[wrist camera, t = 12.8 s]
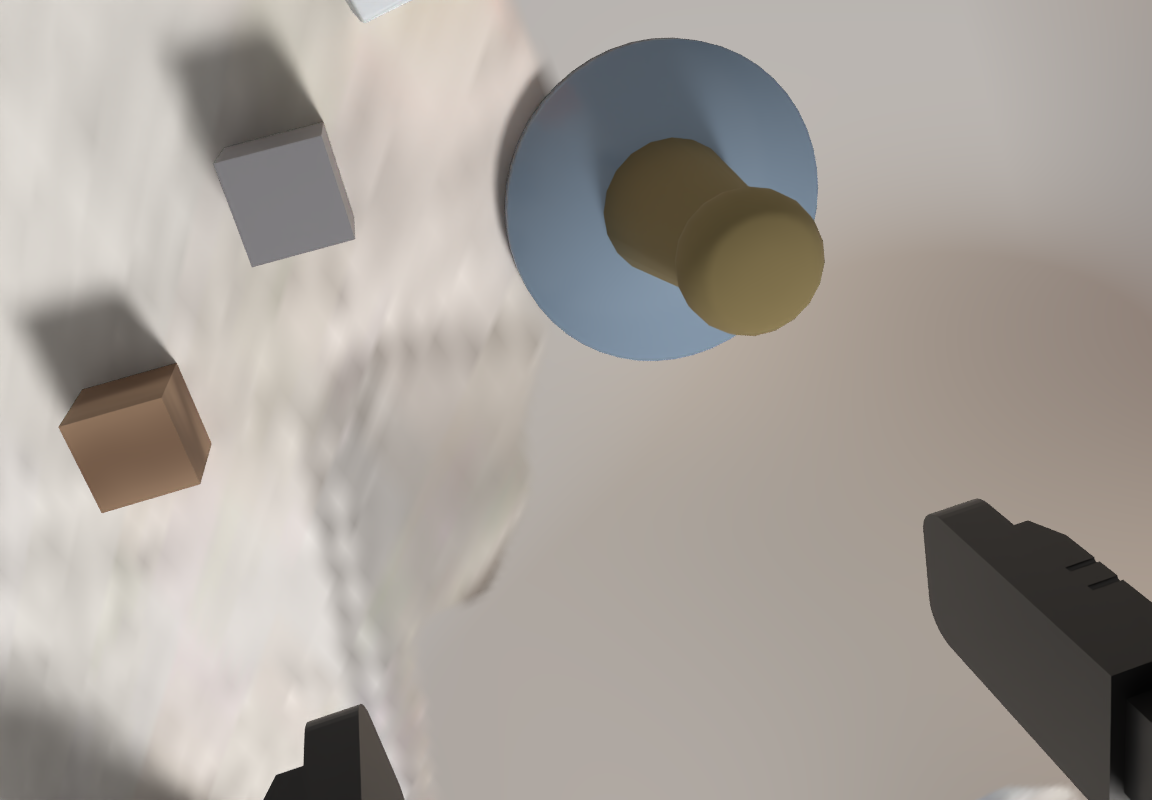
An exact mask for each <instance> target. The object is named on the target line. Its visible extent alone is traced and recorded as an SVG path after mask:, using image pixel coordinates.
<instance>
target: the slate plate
mask: <svg viewBox="0 0 1152 800" xmlns="http://www.w3.org/2000/svg"><path fill="white" fill-rule="evenodd" d="M671 137H673V138H683V139H692V140H695V141H697V142H699V143H701V144H703V145H705V146H707V147H709V148H711V149H712V150H713V151H714V152H715V153H716V154H717V155H718V156H719V157H720V158H721V159H722V160H723V161H724V162H725V163H726V164H727V165H728V166H729V167H730V168H731V169H732V170H733V171H734V172H735V173H736V174H737V175H738V176H739V177H740V178H741V179H742V180H743V181H744V182H745V183H746V184H747V185H748V186H749V187H759V188H770V189H773V190H775V191H777V192H779V193H781V194H783V195H785V196H787V197H790V198H792V199H794V200H796V201H797V202H798V203H799V204H800V205H801V206H802V207H803V208H804V209H805V210H806V211H807V212H808V214H809V215H810V216H811V217H812V219H813V220H814V219H815V214H816V208H817V194H818V184H817V183H818V181H817V167H816V161H815V156H814V150H813V146H812V143H811V140H810V137H809V134H808V131H807V128H806V126H805V124H804V122H803V119H802V118H801V115H800V113H799V111H798V109H797V108H796V106H795V105H794V103H793V102H792V100H791V99H790V97H789V96H788V94H787V93H786V92H785V91H784V90H783V89H782V87H781V86H780V85H779V84H778V83H777V82H776V81H775V80H774V78H772V77H771V76H770V75H769V74H768V73H766V72H765V71H764V70H763V69H762V68H760V67H759V66H758V65H757V64H755V63H753V62H752V61H750V60H748V59H747V58H745V57H743V56H742V55H740V54H738V53H735V52H733V51H731V50H728V49H726V48H724V47H721V46H718V45H714V44H709V43H706V42H702V41H697V40H689V39H679V38H655V39H647V40H641V41H636V42H631V43H628V44H625V45H622V46H619V47H616V48H613V49H610V50H608V51H606V52H604V53H602V54H600V55H598V56H596V57H594V58H592V59H590V60H588V61H587V62H585V63H584V64H582V65H581V66H579V67H578V68H576V69H575V70H573V71H572V72H571V73H570V74H569V75H567V77H565V78H564V79H563V80H562V81H561V82H559V83H558V84H557V85H556V86H555V87H554V88H553V89H552V90H551V92H550V93H549V94H548V95H547V96H546V97H545V99H544V100H543V101H542V102H541V103H540V105H539V106H538V108H537V109H536V111H535V112H534V114H533V115H532V117H531V118H530V120H529V121H528V123H527V125H526V127H525V129H524V131H523V133H522V135H521V137H520V139H519V141H518V143H517V146H516V149H515V152H514V155H513V158H512V161H511V164H510V169H509V173H508V178H507V183H506V194H505V223H506V231H507V237H508V242H509V247H510V250H511V253H512V256H513V259H514V262H515V265H516V268H517V270H518V272H519V274H520V276H521V278H522V280H523V282H524V284H525V286H526V288H527V289H528V291H529V292H530V294H531V295H532V297H533V298H534V300H535V301H536V303H537V304H538V306H539V307H540V308H541V309H542V311H543V312H544V313H545V314H546V315H547V316H548V317H549V318H550V319H551V321H552V322H553V323H555V324H556V325H557V326H558V327H559V328H561V329H562V330H563V331H565V333H566V334H568V335H569V336H571V337H573V338H574V339H576V340H577V341H579V342H581V343H582V344H584V345H586V346H588V347H591V348H593V349H595V350H597V351H599V352H602V353H606V354H609V355H613V356H616V357H620V358H626V359H632V360H642V361H659V360H670V359H677V358H681V357H686V356H690V355H694V354H697V353H700V352H703V351H705V350H708V349H711V348H713V347H715V346H717V345H719V344H721V343H723V342H725V341H727V340H729V339H731V338H732V337H734V336H735V335H733V334H729V333H726V332H723V331H721V330H719V329H716V328H714V327H711V326H709V325H708V324H707V323H706V322H704V321H703V320H702V319H701V318H700V317H699V316H698V315H697V314H696V313H695V312H694V311H693V310H692V309H691V308H690V307H689V306H688V304H687V302H686V301H685V299H684V297H683V295H682V293H681V291H680V289H679V287H677V286H675V285H673V284H670V283H668V282H666V281H664V280H661V279H659V278H657V277H655V276H652V275H650V274H648V273H646V272H643V271H641V270H639V269H637V268H634V267H632V266H631V265H630V264H629V263H628V262H627V261H626V260H624V259H623V258H622V257H621V256H620V255H619V254H618V253H617V252H616V250H615V248H614V246H613V244H612V242H611V241H610V239H609V237H608V235H607V230H606V225H605V219H604V207H605V199H606V192H607V189H608V187H609V185H610V183H611V181H612V179H613V176H614V174H615V172H616V170H617V169H618V168H619V167H620V166H621V165H622V164H623V163H624V161H625V160H626V159H627V158H628V157H629V156H630V155H631V154H632V153H633V152H635V151H637V150H638V149H640V148H642V147H643V146H645V145H647V144H648V143H650V142H654V141H658V140H662V139H667V138H671Z"/></svg>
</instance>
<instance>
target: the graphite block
mask: <svg viewBox="0 0 1152 800" xmlns="http://www.w3.org/2000/svg"><path fill="white" fill-rule="evenodd" d="M213 165H214V167H215V170H216V173H217V175H218V178H219V181H220V183H221V186H222V189H223V191H224V194H225V197H226V199H227V202H228V205H229V207H230V210H231V213H232V215H233V218H234V220H235V223H236V226H237V228H238V231H239V234H240V236H241V239H242V242H243V244H244V247H245V250H246V252H247V255H248V258H249V260H250V263H251V266H252V267H255V266H258V265H262V264H266V263H269V262H273V261H277V260H280V259H284V258H288V257H291V256H295V255H299V254H302V253H306V252H310V251H314V250H317V249H321V248H325V247H328V246H332V245H336V244H339V243H343V242H347V241H350V240H354V239H355V225H354V215H353V212H352V209H351V206H350V203H349V200H348V197H347V193H346V190H345V187H344V184H343V181H342V178H341V175H340V172H339V169H338V165H337V162H336V159H335V156H334V153H333V150H332V147H331V144H330V141H329V138H328V134H327V131H326V128H325V125H324V122H321V123H317V124H313V125H309V126H305V127H301V128H298V129H294V130H290V131H286V132H282V133H278V134H274V135H271V136H267V137H263V138H259V139H255V140H251V141H247V142H243V143H240V144H236V145H232V146H228V147H225V148H224V149H223V151H222V152H221V153H220V155H219V156H218V158H217V159H216V160H215V162H214V163H213Z"/></svg>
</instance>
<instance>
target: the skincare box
mask: <svg viewBox="0 0 1152 800" xmlns="http://www.w3.org/2000/svg"><path fill="white" fill-rule="evenodd" d="M410 1H411V0H346V2H347V3H348V5H349V7H350V9H351V10H352V12H353V13H354V14H355V15H356V16H357V18H358V19H359V20H360V21H361V22H363V23H367V22H369V21H371V20H373V19H375V18H377V17H379V16H381V15H383V14H385V13H387V12H389V11H391V10H393V9H395V8H398V7H400V6H402V5H404V4H406V3H408V2H410Z"/></svg>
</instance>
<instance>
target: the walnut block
mask: <svg viewBox="0 0 1152 800" xmlns="http://www.w3.org/2000/svg"><path fill="white" fill-rule="evenodd" d="M59 429H60V431H61V433H62V435H63V437H64V439H65V441H66V443H67V445H68V447H69V449H70V451H71V453H72V455H73V457H74V459H75V461H76V463H77V465H78V467H79V469H80V471H81V473H82V475H83V477H84V479H85V481H86V483H87V485H88V487H89V489H90V491H91V493H92V495H93V497H94V499H95V501H96V503H97V505H98V507H99V509H100V511H101V513H104V512H108V511H111V510H114V509H118V508H121V507H125V506H128V505H131V504H135V503H138V502H141V501H145V500H148V499H152V498H155V497H158V496H162V495H165V494H168V493H172V492H175V491H179V490H182V489H185V488H189V487H192V486H195V485H199V484H200V483H201V479H202V476H203V472H204V469H205V465H206V462H207V458H208V455H209V451H210V448H211V441H210V439H209V437H208V434H207V432H206V430H205V427H204V425H203V423H202V421H201V418H200V416H199V414H198V411H197V409H196V407H195V404H194V402H193V400H192V397H191V395H190V393H189V390H188V388H187V386H186V383H185V381H184V379H183V376H182V374H181V372H180V369H179V367H178V365H177V363H175V364H171V365H167V366H164V367H160V368H157V369H153V370H150V371H146V372H143V373H139V374H136V375H132V376H128V377H125V378H121V379H118V380H114V381H111V382H107V383H104V384H100V385H97V386H93V387H90V388H86V389H82V391H81V393H80V394H79V396H78V397H77V399H76V400H75V402H74V404H73V405H72V407H71V408H70V410H69V411H68V413H67V415H66V416H65V418H64V419H63V421H62V422H61V424H60V426H59Z"/></svg>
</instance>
